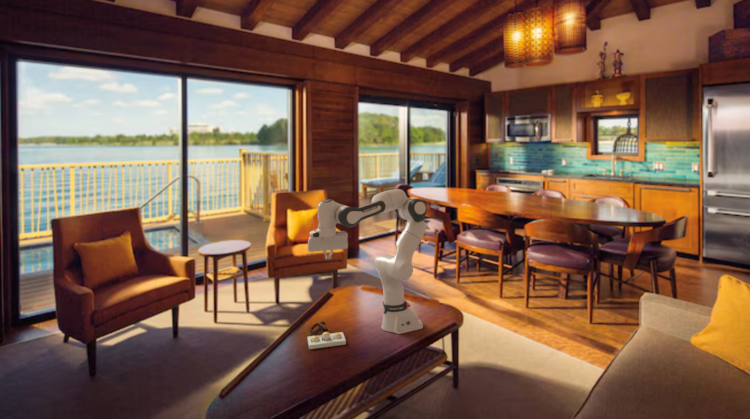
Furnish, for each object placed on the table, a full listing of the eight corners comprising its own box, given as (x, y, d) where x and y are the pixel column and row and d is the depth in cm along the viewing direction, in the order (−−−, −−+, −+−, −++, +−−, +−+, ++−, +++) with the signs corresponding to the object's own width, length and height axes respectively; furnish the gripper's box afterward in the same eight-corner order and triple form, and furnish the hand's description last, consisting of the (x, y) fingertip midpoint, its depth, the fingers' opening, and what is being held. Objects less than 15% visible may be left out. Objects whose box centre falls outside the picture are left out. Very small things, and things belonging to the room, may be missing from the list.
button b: (329, 337, 211) (329, 331, 210) (330, 340, 207) (330, 334, 207) (322, 338, 210) (322, 332, 209) (323, 341, 206) (322, 335, 206)
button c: (318, 341, 210) (318, 335, 209) (319, 344, 206) (319, 338, 206) (311, 342, 209) (311, 336, 208) (312, 345, 205) (311, 339, 205)
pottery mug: (329, 341, 213) (321, 329, 211) (314, 347, 216) (305, 336, 213) (333, 325, 224) (325, 314, 222) (318, 332, 227) (310, 321, 224)
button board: (342, 337, 216) (342, 332, 215) (346, 346, 206) (345, 340, 206) (307, 342, 212) (307, 336, 211) (309, 351, 202) (308, 345, 202)
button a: (340, 338, 212) (340, 332, 212) (341, 341, 209) (341, 335, 208) (333, 339, 211) (333, 333, 211) (334, 342, 208) (334, 336, 207)
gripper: (346, 229, 217) (347, 255, 219) (306, 232, 212) (308, 258, 214) (348, 231, 210) (349, 258, 212) (307, 234, 206) (309, 262, 208)
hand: (328, 258), depth 213 cm, fingers closed
